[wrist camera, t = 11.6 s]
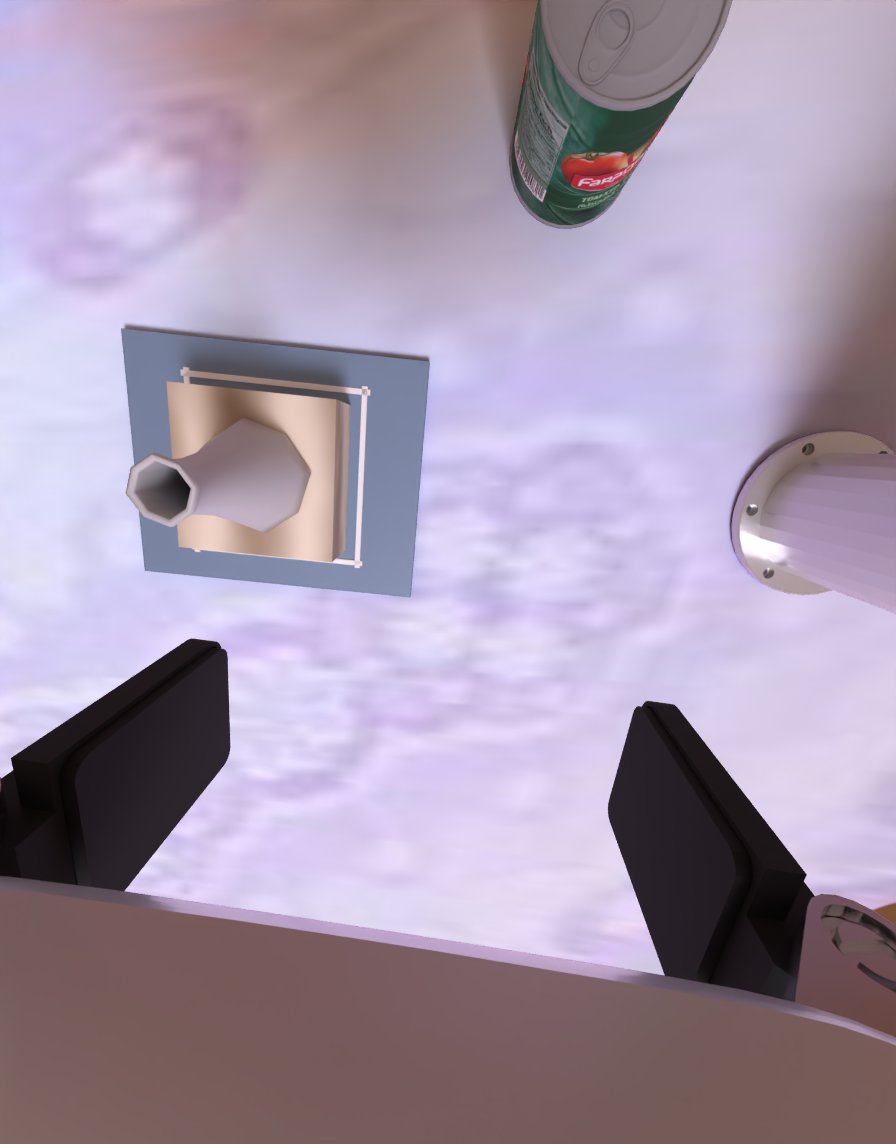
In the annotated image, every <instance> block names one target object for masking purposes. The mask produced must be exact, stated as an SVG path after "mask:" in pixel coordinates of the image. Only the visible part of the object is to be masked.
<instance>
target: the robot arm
mask: <svg viewBox="0 0 896 1144" xmlns="http://www.w3.org/2000/svg"><path fill="white" fill-rule="evenodd" d="M746 509H747V510H746ZM731 528H732V542H733V546H734V549H735V553H736V555H737V557H738V559H739V561H740V563H741V565H742V566H743V567H744V568H745V570H746V571H747V572H748V573H749V574H750V575H751V576H752V577H753V578H755V579H756V580H758V581H759V582H760V583H762V584H764V585H766V586H768V587H771V588H773V589H775V590H778V591H781V592H785V593H788V594H797V595H811V594H820V593H824V592H828V591H832V590H834V591H837V592H839V593H842V594H845V595H847V596H850V597H853V598H855V599H858V600H861V601H863V602H866V603H869V604H871V605H874V606H877V607H879V608H882V609H885V610H887V611H890V612H893V613H895V614H896V454H895V453H894V452H893V451H892V450H891V449H890V448H889V447H887V446H886V445H885V444H884V443H882V442H881V441H879V440H877V439H875V438H873V437H871V436H869V435H866V434H861V433H857V432H852V431H832V432H822V433H815V434H812V435H808V436H805V437H801V438H799V439H797V440H795V441H792V442H790V443H788V444H786V445H784V446H783V447H781V448H780V449H778V450H777V451H776V452H774V453H773V454H771V455H770V456H769V457H768V458H767V459H766V460H765V461H763V462H762V463H761V464H760V465H759V466H758V467H757V468H756V470H755V471H754V472H753V474H752V475H751V476H750V477H749V479H748V480H747V481H746V483H745V485H744V487H743V489H742V491H741V493H740V494H739V496H738V499H737V502H736V505H735V508H734V511H733V518H732V526H731ZM229 752H230V722H229V690H228V658H227V652H226V650H224V649H221V646H220V644H219V643H218V642H214V641H207V640H200V639H189V640H187V641H185V642H184V643H182V644H181V645H179V646H178V647H176V648H175V649H173V650H172V651H170V652H169V653H167V654H166V655H164V656H163V657H162V658H160V659H159V660H157V661H156V662H154V663H153V664H151V665H150V666H148V667H147V668H145V669H144V670H142V671H141V672H139V673H138V674H136V675H135V676H133V677H132V678H130V679H129V680H127V681H126V682H124V683H123V684H121V685H120V686H118V687H117V688H115V689H114V690H112V691H111V692H109V693H108V694H106V695H105V696H103V697H102V698H100V699H99V700H97V701H96V702H94V703H93V704H91V705H90V706H88V707H87V708H85V709H84V710H82V711H81V712H79V713H78V714H76V715H75V716H73V717H72V718H70V719H69V720H67V721H66V722H64V723H63V724H61V725H60V726H58V727H57V728H55V729H54V730H52V731H51V732H49V733H48V734H46V735H45V736H43V737H42V738H40V739H39V740H37V741H36V742H34V743H33V744H31V745H30V746H28V747H27V748H25V749H24V750H22V751H21V752H19V753H18V754H16V755H15V756H13V757H12V758H11V761H12V766H13V771H12V772H10V773H9V774H7V775H6V776H4V777H3V778H2V779H1V778H0V1144H896V926H895V925H894V924H893V923H891V922H890V921H888V920H887V919H885V918H884V917H882V916H880V915H879V914H878V913H876V912H875V911H873V910H871V909H869V908H867V907H865V906H863V905H861V904H859V903H857V902H855V901H853V900H850V899H847V898H843V897H840V896H837V895H829V894H820V895H818V896H814V894H813V893H812V892H811V891H810V889H809V888H808V887H807V885H806V884H805V883H804V879H805V877H806V875H807V874H806V873H805V872H804V871H803V869H802V868H801V867H800V865H799V864H798V863H797V861H796V860H795V859H794V858H793V856H792V855H791V854H790V852H789V851H788V850H787V849H786V847H785V846H784V845H783V843H782V842H781V841H780V840H779V838H778V837H777V836H776V834H775V833H774V832H773V830H772V829H771V828H770V827H769V825H768V824H767V823H766V821H765V820H764V819H763V818H762V816H761V815H760V814H759V812H758V811H757V810H756V809H755V807H754V806H753V805H752V803H751V802H750V801H749V799H748V798H747V797H746V796H745V794H744V793H743V792H742V790H741V789H740V788H739V787H738V785H737V784H736V783H735V781H734V780H733V779H732V778H731V776H730V775H729V774H728V772H727V771H726V770H725V768H724V767H723V766H722V765H721V763H720V762H719V761H718V759H717V758H716V757H715V756H714V754H713V753H712V752H711V750H710V749H709V748H708V746H707V745H706V744H705V743H704V741H703V740H702V739H701V737H700V736H699V735H698V734H697V732H696V731H695V730H694V728H693V727H692V726H691V725H690V723H689V722H688V721H687V719H686V718H685V717H684V715H683V714H682V713H681V712H680V710H679V709H678V708H677V707H676V706H675V705H673V704H666V703H659V702H652V701H646V702H645V703H644V704H643V706H642V707H640V706H638V707H636V708H635V710H634V712H633V716H632V720H631V723H630V727H629V730H628V734H627V738H626V741H625V745H624V748H623V752H622V756H621V759H620V763H619V766H618V770H617V774H616V777H615V781H614V784H613V788H612V792H611V795H610V799H609V803H608V815H609V820H610V823H611V826H612V829H613V832H614V835H615V837H616V840H617V843H618V846H619V849H620V851H621V854H622V857H623V860H624V863H625V865H626V868H627V871H628V874H629V876H630V879H631V882H632V885H633V888H634V890H635V893H636V896H637V899H638V902H639V904H640V907H641V910H642V913H643V916H644V918H645V921H646V924H647V927H648V930H649V932H650V935H651V938H652V941H653V944H654V946H655V949H656V952H657V955H658V958H659V960H660V963H661V966H662V969H663V972H664V974H665V976H663V975H658V974H652V973H647V972H641V971H636V970H630V969H624V968H618V967H611V966H605V965H599V964H593V963H586V962H580V961H574V960H568V959H562V958H555V957H549V956H543V955H537V954H530V953H524V952H518V951H512V950H506V949H499V948H493V947H487V946H481V945H474V944H468V943H462V942H455V941H449V940H442V939H436V938H430V937H423V936H417V935H410V934H404V933H397V932H391V931H384V930H378V929H371V928H365V927H358V926H352V925H345V924H339V923H332V922H326V921H319V920H313V919H306V918H300V917H293V916H287V915H280V914H273V913H267V912H260V911H253V910H246V909H240V908H233V907H226V906H219V905H212V904H206V903H199V902H192V901H185V900H178V899H172V898H165V897H158V896H151V895H145V894H138V893H131V892H124V891H125V889H126V888H127V887H128V886H129V884H130V883H131V882H132V881H133V879H134V878H135V877H136V876H137V874H138V873H139V872H140V871H141V869H142V868H143V867H144V866H145V864H146V863H147V862H148V860H149V859H150V858H151V857H152V855H153V854H154V853H155V852H156V850H157V849H158V848H159V847H160V845H161V844H162V843H163V842H164V840H165V839H166V838H167V836H168V835H169V834H170V833H171V831H172V830H173V829H174V828H175V826H176V825H177V824H178V823H179V821H180V820H181V819H182V818H183V816H184V815H185V814H186V813H187V811H188V810H189V809H190V807H191V806H192V805H193V804H194V802H195V801H196V800H197V799H198V797H199V796H200V795H201V794H202V792H203V791H204V790H205V789H206V787H207V786H208V785H209V784H210V782H211V781H212V780H213V778H214V777H215V776H216V775H217V773H218V772H219V771H220V770H221V768H222V767H223V766H224V764H225V763H226V761H227V759H228V756H229Z"/></svg>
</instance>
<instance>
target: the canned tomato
mask: <svg viewBox="0 0 896 1144" xmlns="http://www.w3.org/2000/svg"><path fill="white" fill-rule="evenodd" d="M732 1H733V0H538V4H537V9H536V13H535V21H534V25H533V30H532V37H531V41H530V46H529V53H528V57H527V64H526V69H525V73H524V80H523V84H522V91H521V95H520V102H519V106H518V112H517V117H516V123H515V128H514V133H513V138H512V142H511V147H510V172H511V179H512V182H513V186H514V189H515V192H516V194H517V196H518V198H519V200H520V202H521V203H522V205H523V206H524V207H525V209H526V210H527V211H528V212H529V213H530V214H531V215H532V216H533V217H534V218H536V219H537V220H538V221H540V222H542V223H544V224H546V225H548V226H551V227H555V228H563V229H571V228H576V227H581V226H583V225H586V224H588V223H590V222H592V221H594V220H595V219H597V218H598V217H599V216H601V215H602V214H603V213H604V212H605V211H606V210H607V209H608V208H609V207H610V206H611V205H612V204H613V203H614V201H615V200H616V198H617V197H618V196H619V194H620V193H621V191H622V188H623V187H624V185H625V184H626V182H627V181H628V179H629V178H630V176H631V174H632V173H633V171H634V170H635V168H636V167H637V165H638V164H639V162H640V161H641V159H642V157H643V156H644V154H645V153H646V151H647V150H648V148H649V147H650V145H651V144H652V142H653V141H654V139H655V137H656V136H657V134H658V133H659V131H660V130H661V128H662V126H663V125H664V123H665V122H666V121H667V119H668V117H669V116H670V114H671V113H672V111H673V110H674V108H675V106H676V105H677V103H678V102H679V100H680V99H681V97H682V96H683V94H684V92H685V91H686V89H687V88H688V86H689V85H690V83H691V82H692V80H693V78H694V76H695V75H696V73H697V72H698V71H699V70H700V68H701V67H702V65H703V64H704V63H705V61H706V60H707V58H708V57H709V55H710V54H711V52H712V51H713V49H714V47H715V45H716V43H717V41H718V39H719V37H720V34H721V32H722V30H723V28H724V26H725V23H726V20H727V17H728V14H729V10H730V7H731V4H732Z"/></svg>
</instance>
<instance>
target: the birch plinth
mask: <svg viewBox="0 0 896 1144" xmlns="http://www.w3.org/2000/svg"><path fill="white" fill-rule="evenodd" d="M166 382H167V395H168V409H169V422H170V436H171V449H172V459H179V458H183V457H186V456H189V455H191V454H194V453H196V452H197V451H199V450H200V449H201V448H202V447H203V446H204V445H205V444H206V443H207V442H208V441H210V440H211V439H213V438H214V437H215V436H217V435H218V434H220V433H221V432H223V431H224V430H226V429H227V428H229V427H230V426H232V425H233V424H234V423H236V422H237V421H239V420H240V419H242V418H243V417H244V418H247V419H249V420H252V421H254V422H256V423H259V424H261V425H264V426H266V427H268V428H271V429H273V430H276V431H278V432H280V433H283V434H285V435H286V436H287V437H288V439H289V440H290V442H291V444H292V445H293V447H294V448H295V450H296V451H297V453H298V454H299V456H300V457H301V459H302V460H303V462H304V463H305V465H306V466H307V468H308V469H309V471H310V472H311V475H310V478H309V481H308V484H307V487H306V491H305V494H304V497H303V500H302V503H301V506H300V510H299V512H298V513H297V514H295V515H294V516H292V517H290V518H289V519H287V520H286V521H284V522H282V523H281V524H279V525H278V526H276V527H274V528H273V529H271V530H270V531H268V532H266V533H264V532H261V531H258V530H255V529H253V528H250V527H247V526H245V525H242V524H239V523H236V522H233V521H230V520H227V519H223V518H220V517H217V516H210V515H190V516H189V517H187V518H186V519H184V520H183V521H181V522H180V523H178V524H177V530H178V543H179V547H184V548H194V549H204V550H214V551H224V552H234V553H244V554H254V555H263V556H273V557H283V558H293V559H303V560H313V561H323V562H333V561H334V560H335V559H336V558H337V557H338V556H340V555H341V554H342V553H343V552H344V551H345V550H346V526H347V498H348V470H349V442H350V414H351V405H349V404H346V403H344V402H342V401H339V400H337V399H328V398H318V397H309V396H300V395H290V394H281V393H271V392H262V391H252V390H243V389H234V388H224V387H215V386H205V385H196V384H186V383H177V382H168V381H166Z"/></svg>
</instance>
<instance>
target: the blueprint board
mask: <svg viewBox="0 0 896 1144" xmlns="http://www.w3.org/2000/svg"><path fill="white" fill-rule="evenodd" d="M121 332H122V343H123V353H124V363H125V373H126V383H127V394H128V404H129V414H130V424H131V434H132V444H133V455H134V465H135V464H137V463H138V462H139V461H141V460H142V459H144V458H145V457H147V456H148V455H149V454H151V453H158V454H161V455H163V456H166V457H168V458H171V459H172V449H171V436H170V422H169V409H168V395H167V382H166V381H168V382H177V383H186V384H196V385H205V386H215V387H224V388H234V389H243V390H252V391H262V392H271V393H281V394H290V395H300V396H309V397H318V398H328V399H337V400H339V401H342V402H344V403H346V404H349V405H351V414H350V442H349V470H348V498H347V526H346V550H345V551H344V552H343V553H342V554H341V555H340V556H338V557H337V558H336V559H335V560H334V561H333V562H323V561H313V560H303V559H293V558H283V557H273V556H263V555H254V554H244V553H234V552H224V551H214V550H204V549H194V548H184V547H179V543H178V530H177V525H175V526H174V527H169V526H166V525H164V524H161V523H159V522H156V521H153V520H151V519H148V518H146V517H144V516H143V515H142V514H141V512H140V511H139V516H140V526H141V536H142V546H143V556H144V566H145V571H153V572H163V573H173V574H183V575H193V576H203V577H213V578H223V579H233V580H243V581H253V582H263V583H273V584H283V585H293V586H302V587H312V588H322V589H332V590H342V591H352V592H362V593H372V594H382V595H392V596H402V597H410V596H411V586H412V574H413V562H414V549H415V537H416V525H417V512H418V500H419V488H420V475H421V463H422V451H423V438H424V426H425V414H426V402H427V389H428V377H429V365H430V363H429V361H419V360H410V359H401V358H391V357H382V356H373V355H364V354H354V353H345V352H336V351H326V350H317V349H308V348H298V347H289V346H280V345H270V344H261V343H252V342H243V341H233V340H224V339H215V338H205V337H196V336H187V335H177V334H168V333H159V332H149V331H140V330H131V329H122V328H121Z"/></svg>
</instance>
